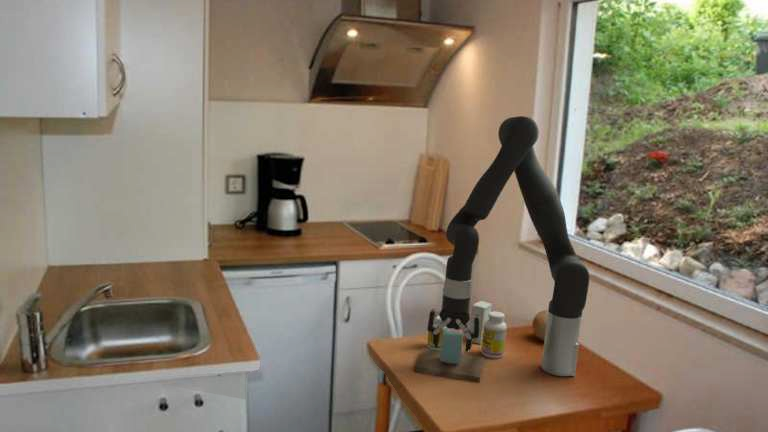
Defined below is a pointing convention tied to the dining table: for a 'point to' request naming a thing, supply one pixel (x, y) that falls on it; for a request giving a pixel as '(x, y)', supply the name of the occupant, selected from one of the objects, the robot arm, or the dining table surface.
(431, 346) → the supplement bottle
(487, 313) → the skincare box
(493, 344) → the supplement bottle
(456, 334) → the aqua rectangular box
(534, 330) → the onion
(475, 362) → the post board
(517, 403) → the dining table surface
